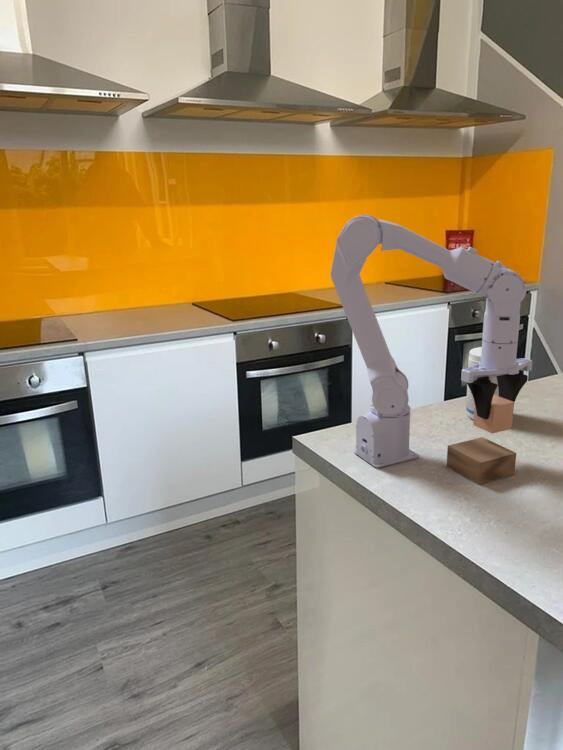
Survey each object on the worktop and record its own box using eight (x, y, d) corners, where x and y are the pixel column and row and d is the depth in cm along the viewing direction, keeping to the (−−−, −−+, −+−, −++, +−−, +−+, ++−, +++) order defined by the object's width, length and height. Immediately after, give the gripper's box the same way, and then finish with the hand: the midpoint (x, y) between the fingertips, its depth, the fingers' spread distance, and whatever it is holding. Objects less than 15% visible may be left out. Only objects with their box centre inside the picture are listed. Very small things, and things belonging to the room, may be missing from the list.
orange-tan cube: (492, 433, 101) (494, 406, 100) (473, 425, 105) (475, 398, 104) (511, 428, 103) (514, 402, 102) (492, 420, 107) (494, 394, 106)
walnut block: (478, 484, 97) (480, 462, 96) (446, 466, 104) (447, 445, 103) (514, 474, 100) (516, 452, 99) (481, 457, 107) (482, 437, 106)
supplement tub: (501, 408, 132) (506, 345, 127) (519, 423, 122) (525, 355, 118) (458, 410, 131) (462, 347, 127) (474, 426, 122) (478, 358, 118)
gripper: (484, 350, 93) (479, 429, 97) (549, 339, 99) (541, 414, 103) (454, 341, 99) (450, 416, 103) (517, 331, 105) (510, 402, 109)
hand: (493, 414), depth 103 cm, fingers closed on orange-tan cube, 5 cm apart
